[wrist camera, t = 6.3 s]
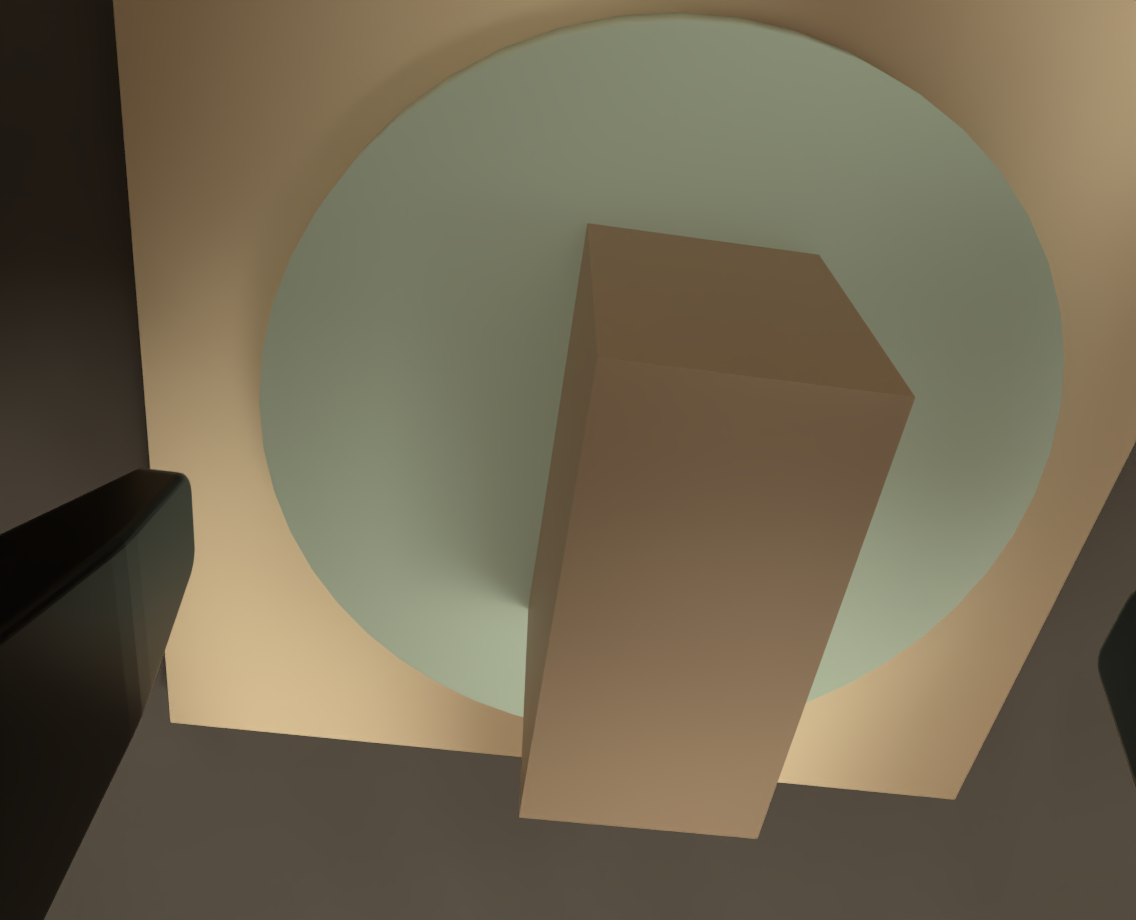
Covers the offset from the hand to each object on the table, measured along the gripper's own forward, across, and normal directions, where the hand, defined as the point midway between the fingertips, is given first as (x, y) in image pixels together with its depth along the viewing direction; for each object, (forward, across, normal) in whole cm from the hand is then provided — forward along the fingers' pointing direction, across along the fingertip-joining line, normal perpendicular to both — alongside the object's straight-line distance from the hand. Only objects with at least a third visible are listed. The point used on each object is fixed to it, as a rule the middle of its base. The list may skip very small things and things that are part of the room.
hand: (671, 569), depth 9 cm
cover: (+3, 0, 0) cm, 3 cm away
